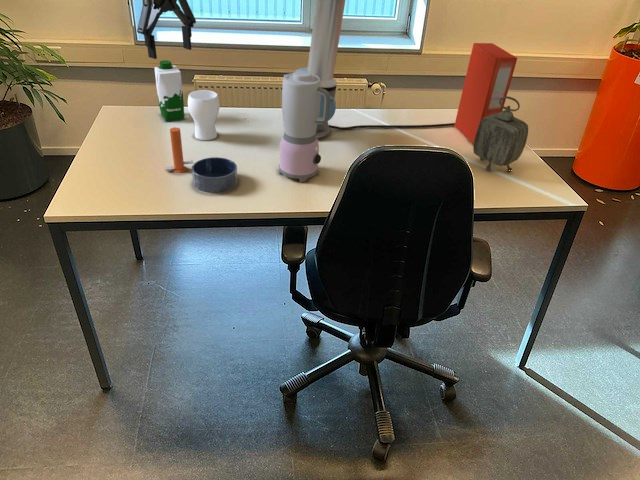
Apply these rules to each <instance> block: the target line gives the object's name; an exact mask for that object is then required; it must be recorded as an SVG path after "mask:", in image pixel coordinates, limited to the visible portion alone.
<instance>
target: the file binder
mask: <svg viewBox="0 0 640 480" xmlns="http://www.w3.org/2000/svg"><path fill="white" fill-rule="evenodd" d="M517 62H518V57H517V56H515V55H513V54H512V53H510V52H508V51H506V50H505V49H503V48H502V47H500V46H498V45H496V44H495V43H493V42H492V43H491V42H474V43H473V44H472V48H471V52H470V57H469V61H468V65H467V69H466V75H465V79H464V81H463V82H464V83H463V86H462V90H461V95H460V99H459V104H458V107H457V113H456V116H455V120H454V121H455V122H454V123H455V125H454V126H453V127H455V128H456V129H457V130H458V131H459V132H460V133H461V134H462V135H463V136H464V137H465V138H466V139H467V140H468V141H469V142H470V143H471V144H472V145H474V140H475V135H476V132H477V129H478V126H479V123H480V121H481V120H482V119H483V118H485V117H487V116H489V115H491V114H494V113H500V112H501V111H503V110H504V109H503V108H502V107H501V106H500V103H499V101H500V99H501V98H502V97H506V96H508V93H509V89H510V86H511V83H512V78H513V75H514V71H515V68H516V65H517ZM506 100H507V98H505V99H502V100H501V104H502V105H503V106H504V107H505V103H506Z"/></svg>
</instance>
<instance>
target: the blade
mask: <svg viewBox="0 0 640 480" xmlns="http://www.w3.org/2000/svg"><path fill="white" fill-rule="evenodd" d="M169 137H170V144H171V152H172V160H173V166H165V167H164V171H172V172H173V173H175V174H182V173H185V172H186V171H187V166H185V165H190V164H192V165H193V164H194V161H193V160H185V161H184V154H183V144H182V134H181V128H180V127H176V126H175V127H171V128H169Z"/></svg>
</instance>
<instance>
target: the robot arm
mask: <svg viewBox="0 0 640 480" xmlns="http://www.w3.org/2000/svg"><path fill="white" fill-rule="evenodd" d="M177 2H178V3H177ZM345 6H346V0H315V8H314V17H313V23H312V24H313V25H312V31H311V38H310V47H309V54H308V62H307V67H301V68H298V69H296V70H295V71H294V72H296V71H307V72H310V73H311V74H314V75H316V76H318V77H319V78H320V80H321V88H323V89H325V90H327V91H328V92H329V94H330V112H329V119H328V121H327V122H326V123H317V127H316V133H315V134H316V138H317V140H321V139H325V138H326V137H328V136H329V134H330V129H334V130H339V131H349V130H354V129H413V128H414V129H420V128H421V129H422V128H439V127H440V128H441V127H452V126H453V127H455V126H454V125H455V122H450V123H449V122H448V123H435V124H402V125H401V124H399V125H398V124H397V125H396V124H364V125H363V124H360V125H359V124H358V125H351V126H347V127H346V126H345V127H344V126H337V125H330V124H329V121H330V120H332V118H333V117H334V116H335V113H336V109H337V105H336V104H337V103H336V100H335V99H336V98H335V97H336V92H337V86H338V85H337V84H338V83H337V80H336V79H335V78H334V75H335V67H336V63H337V62H336V61H337V56H338V49H339V43H340V36H341V30H342V24H343V18H344V12H345ZM168 12H173V14H174V15H175V16H176V17H177V18H178V20H179V21H180V22H181V23H182V26H181V34H182V36H181V37H182V45H183V49H185V50H189V51H192V39H191V38H192V28H194V26H195V24H196V23H197V20H196V18H195V15H194V13H193V11H192V9H191V6H190V4H189V2H188V0H142V7H141V12H140V16H139V20H138V24H137V29H136V32H137V33H138V34H141V35H143V38H144V43H145V44H144V45H145V47H146V48H147V55H148V58H151V59H153V60H156V59H158V55H157V48H156V39H155V35H154V34H153V32H154V30H155V28H156V25H157V24H158V21H159V19H160V17H161V16H162V15H163V13H168ZM324 101H325V98H324V96H323V95H321V101H320V113H319V117H323V114H324Z"/></svg>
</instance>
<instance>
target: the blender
mask: <svg viewBox="0 0 640 480" xmlns="http://www.w3.org/2000/svg"><path fill="white" fill-rule="evenodd" d="M295 71H296V70H295ZM295 71H293V72H289V73H285V74H283V78H282V88H281V89H282V91H281V114H282V123H283V128H284V130H283V131H284V133H283V135H282V138H281V139H280V142H279V167H278V169H279V170H278V171H279V174H280V175H281V174H282V175H283V176H285V177H288V178H291V179H295V180H299V183H306V182H307V179H309V178H312V177H313V176H316V175H318V170H319V169H318V168H319V164H320V163H321V160H322V156H321V155H320V154H319V153H320V144H319V139H317V138H316V134H315V133H316V127H317V123H326V122H327V121H328V119H329V112H330V94H329V92H328V91H327V90H325V89H323V88H321V80H320V78H319V77H318V76H316V75H314V74H311V73H310V72H307V71H296V72H295ZM321 95H323V96H324V98H325V101H324V114H323V117H319V113H320V101H321ZM328 122H329V121H328Z"/></svg>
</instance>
